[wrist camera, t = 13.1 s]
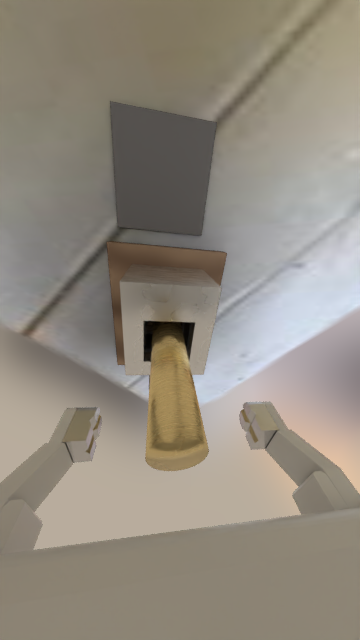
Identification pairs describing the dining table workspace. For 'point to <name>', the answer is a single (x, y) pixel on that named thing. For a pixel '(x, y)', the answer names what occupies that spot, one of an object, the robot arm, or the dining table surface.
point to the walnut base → (154, 255)
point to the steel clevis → (167, 312)
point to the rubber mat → (161, 168)
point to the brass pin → (173, 404)
